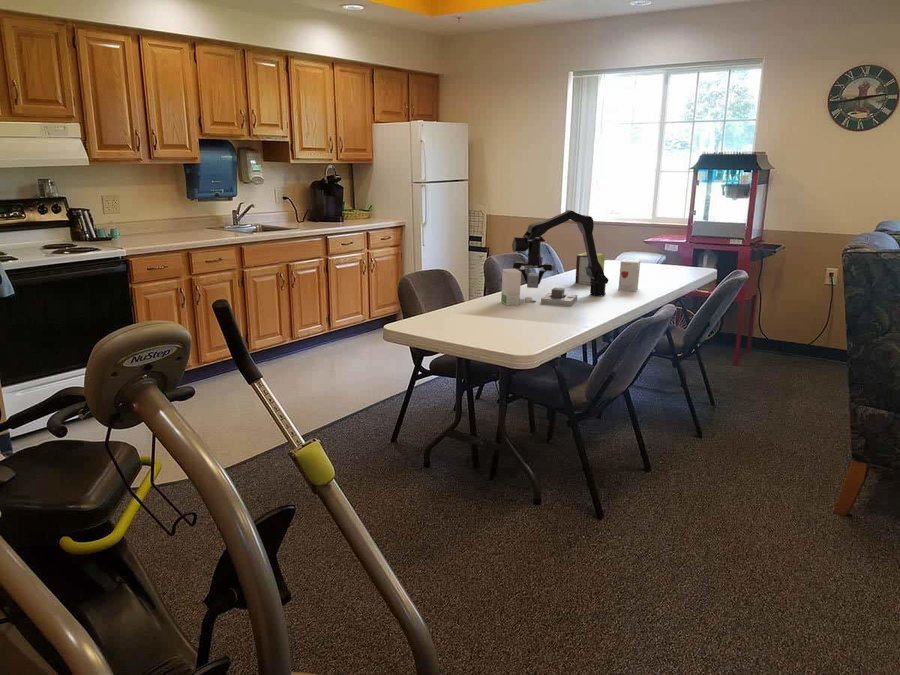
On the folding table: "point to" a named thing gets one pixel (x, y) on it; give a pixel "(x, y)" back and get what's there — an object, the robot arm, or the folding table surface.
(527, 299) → the cable plug
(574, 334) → the folding table surface
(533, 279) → the block
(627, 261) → the supplement box
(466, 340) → the folding table surface
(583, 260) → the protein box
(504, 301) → the skincare box
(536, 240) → the robot arm
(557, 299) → the outlet plate
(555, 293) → the grey block
